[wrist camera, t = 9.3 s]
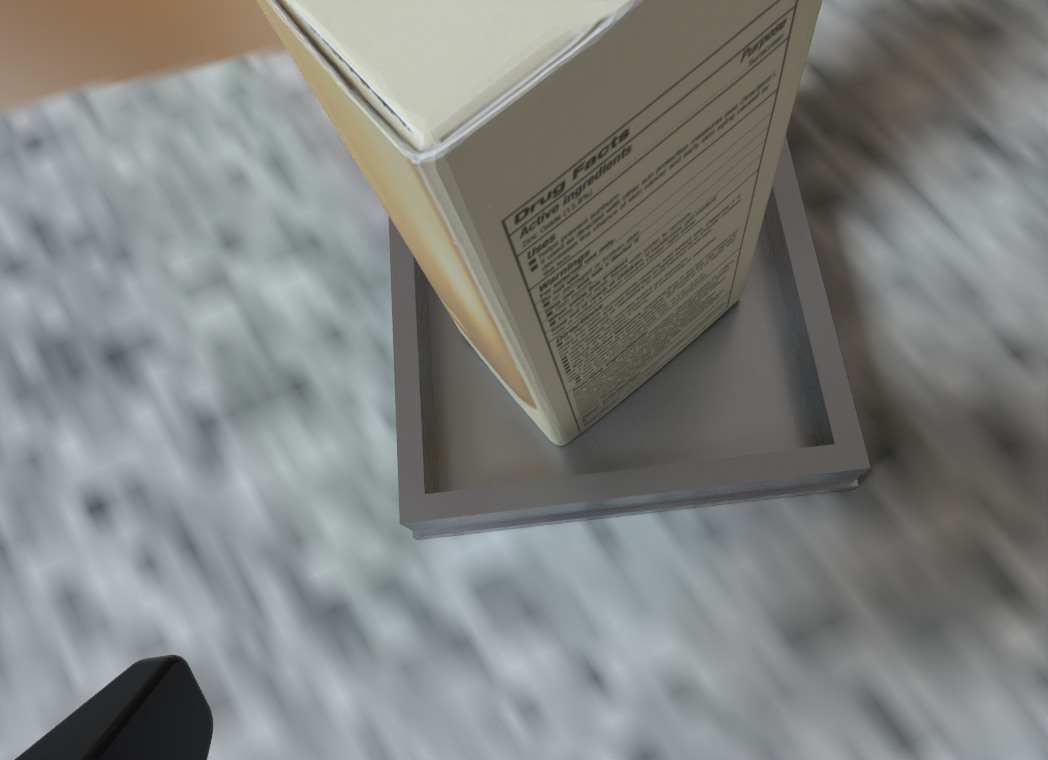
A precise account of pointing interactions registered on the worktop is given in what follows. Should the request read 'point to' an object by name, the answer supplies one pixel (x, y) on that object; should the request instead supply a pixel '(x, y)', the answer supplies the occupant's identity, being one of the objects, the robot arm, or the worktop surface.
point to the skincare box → (564, 167)
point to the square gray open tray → (634, 407)
